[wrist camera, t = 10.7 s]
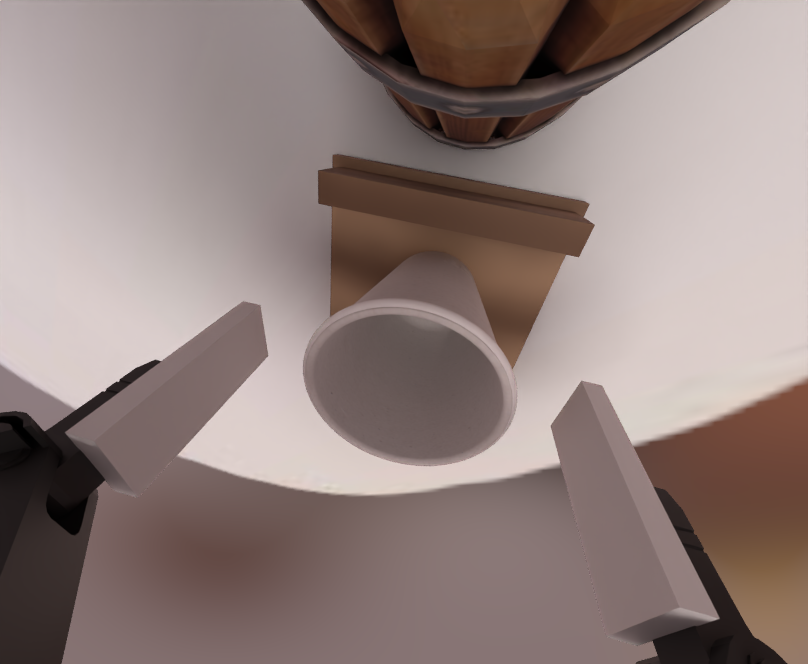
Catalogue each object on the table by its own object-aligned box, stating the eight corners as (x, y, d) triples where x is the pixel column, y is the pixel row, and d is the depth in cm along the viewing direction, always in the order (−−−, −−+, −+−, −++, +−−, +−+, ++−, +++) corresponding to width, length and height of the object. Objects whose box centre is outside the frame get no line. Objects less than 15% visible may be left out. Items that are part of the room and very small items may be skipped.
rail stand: (338, 154, 17) (308, 156, 14) (584, 201, 16) (612, 215, 13) (333, 346, 25) (313, 376, 22) (499, 387, 24) (504, 424, 21)
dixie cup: (412, 198, 17) (355, 250, 9) (527, 279, 18) (574, 394, 10) (351, 304, 21) (274, 405, 13) (446, 363, 23) (431, 491, 14)
